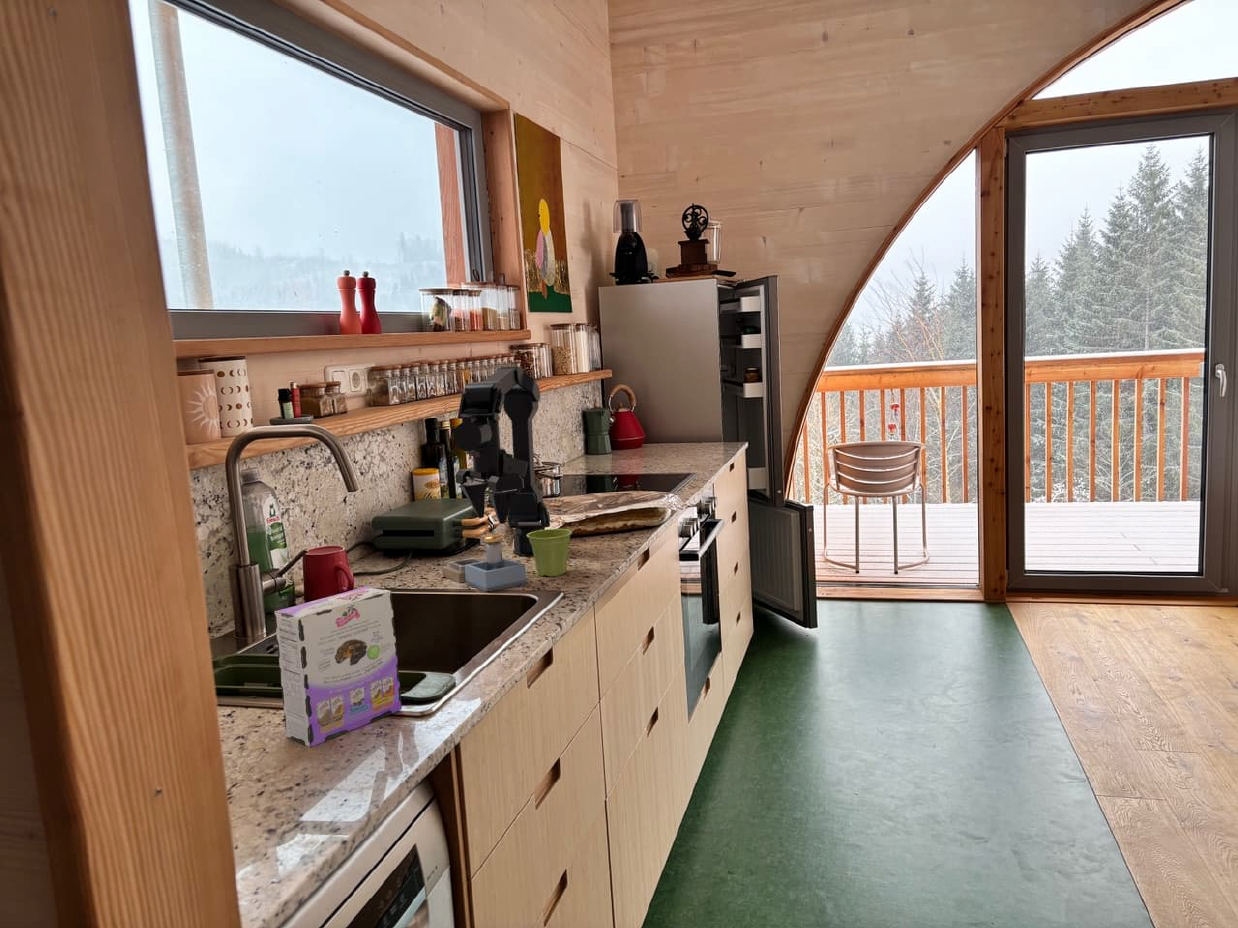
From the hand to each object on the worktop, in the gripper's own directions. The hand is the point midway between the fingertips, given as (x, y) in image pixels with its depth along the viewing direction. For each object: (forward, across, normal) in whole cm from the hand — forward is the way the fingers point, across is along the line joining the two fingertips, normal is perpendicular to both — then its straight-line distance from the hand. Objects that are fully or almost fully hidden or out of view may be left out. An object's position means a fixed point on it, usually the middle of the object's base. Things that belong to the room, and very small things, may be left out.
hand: (491, 520), depth 188 cm
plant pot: (+13, -3, -11) cm, 18 cm away
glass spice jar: (+12, -2, +1) cm, 12 cm away
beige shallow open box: (+13, +8, +2) cm, 15 cm away
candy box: (+12, -53, +50) cm, 74 cm away
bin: (+12, -2, +1) cm, 13 cm away
